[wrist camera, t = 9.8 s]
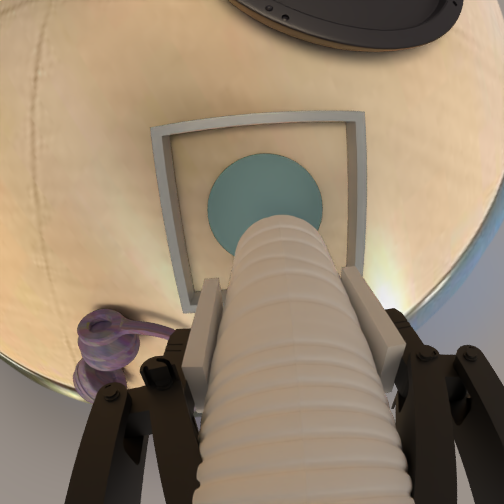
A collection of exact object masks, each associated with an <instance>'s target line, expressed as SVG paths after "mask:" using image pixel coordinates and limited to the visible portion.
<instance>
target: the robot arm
mask: <svg viewBox="0 0 504 504" xmlns="http://www.w3.org/2000/svg"><path fill="white" fill-rule="evenodd" d="M341 281H342V284H343V286H344V288H345V290H346V292H347V294H348V297H349V300H350V303H351V305H352V307H353V309H354V311H355V313H356V315H357V318H358V320H359V323H360V327H361V330H362V332H363V334H364V336H365V338H366V340H367V342H368V345H369V347H370V350H371V353H372V356H373V360H374V363H375V366H376V369H377V374H378V375H379V377H380V380H381V382H382V385H383V390H384V392H385V393H388V392H391V391H392V388H393V386H394V383H395V385H396V387H397V389H398V391H397V394H396V397H395V399H394V402H393V405H392V409H394V407H395V404H396V430H397V432H398V434H399V436H400V439H401V443H402V452H403V453H404V455H405V457H406V459H407V463H408V472H407V474H408V475H409V476H410V477H411V479H412V485H413V488H412V492H411V498H413V500H414V502H415V504H457V472H456V456H455V444H454V440H455V443H456V445H457V448H458V451H459V454H460V457H461V459H462V462H463V465H464V468H465V471H466V475H467V478H468V481H469V484H470V488H471V491H472V494H473V498H474V502H475V504H504V386H503V384H502V382H501V381H500V380H499V378H498V376H497V374H496V373H495V371H494V370H493V368H492V366H491V365H490V363H489V362H488V360H487V359H486V357H485V356H484V354H483V353H482V352H481V350H480V349H478V348H476V347H475V346H471V345H464V346H461V347H460V348H459V349H458V350H457V353H456V355H440V354H439V352H438V351H437V350H436V349H435V348H433V347H431V346H429V345H424V344H423V343H422V341H421V340H420V338H419V337H418V335H417V334H416V332H415V331H414V329H413V328H412V327H411V325H410V323H409V322H407V319H406V318H405V316H404V315H403V314H402V313H401V312H399V311H398V310H396V309H395V308H392V309H386V310H384V308H383V307H382V305H381V303H380V302H379V300H378V299H377V297H376V296H375V294H374V293H373V292H372V290H371V289H370V287H369V286H368V284H367V283H366V281H365V280H364V278H363V277H362V275H361V274H360V273H359V271H358V270H357V268H356V267H355V266H351V267H342V272H341ZM222 312H223V302H222V295H221V289H220V282H219V278H210V279H204V283H203V286H202V290H201V294H200V297H199V301H198V305H197V308H196V312H195V316H194V320H193V323H192V327H191V329H176V330H175V331H174V332H173V333H172V334H171V335H170V337H169V340H168V343H167V346H166V349H165V352H164V355H163V356H155V357H152V358H149V359H148V360H146V361H145V362H144V363H143V364H142V365H141V367H140V374H141V376H142V378H143V380H144V382H145V386H142V387H138V388H133V389H128V390H127V388H126V387H125V385H123V384H122V383H118V382H112V383H108V384H106V385H104V386H102V387H101V388H100V389H99V391H98V392H97V394H96V397H95V400H94V403H93V406H92V409H91V412H90V415H89V418H88V421H87V424H86V427H85V430H84V433H83V436H82V440H81V443H80V447H79V450H78V453H77V457H76V460H75V464H74V467H73V471H72V475H71V479H70V483H69V487H68V491H67V495H66V499H65V504H140V502H141V491H142V483H143V475H144V467H145V459H146V452H147V444H148V438H149V435H150V434H153V440H154V446H155V452H156V458H157V463H158V468H159V473H160V478H161V483H162V487H163V492H164V497H165V501H166V504H192V500H193V494H194V492H195V490H196V489H198V488H199V487H200V482H199V481H198V480H197V469H198V466H199V465H200V464H201V463H202V462H203V461H202V458H201V455H200V451H199V442H198V434H199V431H198V427H197V424H196V421H195V418H194V415H193V413H194V407H195V408H196V411H197V413H203V410H204V403H205V397H206V394H207V391H208V382H209V376H210V368H211V363H212V358H213V354H214V351H215V348H216V342H217V335H218V330H219V326H220V322H221V319H222ZM468 393H469V394H468Z"/></svg>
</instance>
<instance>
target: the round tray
mask: <svg viewBox="0 0 504 504" xmlns="http://www.w3.org/2000/svg"><path fill="white" fill-rule="evenodd" d="M228 1H230V2H231V3H232V4H233V5H235V6H236V7H237V8H239V9H240V10H241V11H243V12H244V13H246V14H247V15H249V16H251V17H252V18H254V19H256V20H257V21H259V22H261V23H263V24H265V25H267V26H269V27H271V28H273V29H275V30H278V31H280V32H282V33H285V34H287V35H290V36H292V37H295V38H298V39H301V40H304V41H307V42H310V43H314V44H318V45H322V46H326V47H331V48H336V49H343V50H351V51H365V52H383V51H396V50H404V49H410V48H414V47H418V46H422V45H425V44H428V43H430V42H432V41H434V40H437V39H438V38H440V37H442V36H443V35H444V34H446V33H447V32H448V31H449V30H450V29H451V28H452V27H453V25H454V24H455V23H456V21H457V19H458V18H459V15H460V13H461V10H462V6H463V0H228Z"/></svg>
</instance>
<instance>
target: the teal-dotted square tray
mask: <svg viewBox="0 0 504 504" xmlns="http://www.w3.org/2000/svg"><path fill="white" fill-rule="evenodd" d="M296 122H346V133H347V157H348V239H347V263H346V267H351V266H355V267H356V268H357V270H358V271H359V273H360V274H361V275H362V277H363V265H364V251H365V234H366V207H367V152H366V126H365V112H361V111H288V112H269V113H254V114H243V115H232V116H223V117H214V118H206V119H199V120H192V121H185V122H179V123H173V124H167V125H162V126H156V127H151V128H150V130H151V138H152V146H153V154H154V162H155V169H156V176H157V182H158V189H159V195H160V201H161V207H162V213H163V219H164V225H165V230H166V235H167V241H168V246H169V251H170V256H171V261H172V266H173V270H174V275H175V280H176V284H177V289H178V293H179V297H180V302H181V306H182V310H183V313H195V312H196V308H197V305H198V301H199V297H200V294H201V291H198V292H194V287H193V282H192V277H191V272H190V267H189V261H188V256H187V250H186V245H185V239H184V233H183V227H182V221H181V215H180V208H179V202H178V195H177V188H176V181H175V174H174V167H173V159H172V151H171V143H170V135H174V134H181V133H187V132H194V131H202V130H209V129H218V128H227V127H236V126H247V125H260V124H275V123H296ZM226 293H227V290H221V295H222V302H223V307H224V303H225V300H226Z"/></svg>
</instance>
